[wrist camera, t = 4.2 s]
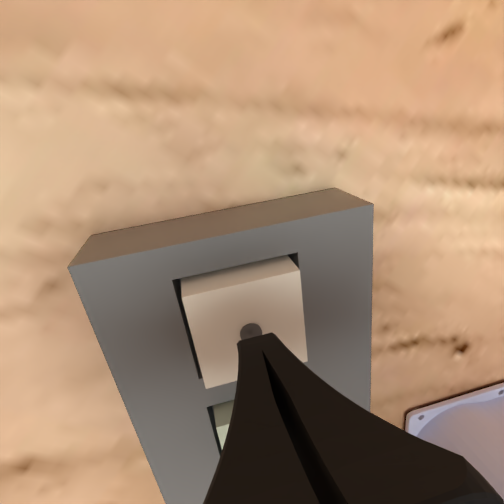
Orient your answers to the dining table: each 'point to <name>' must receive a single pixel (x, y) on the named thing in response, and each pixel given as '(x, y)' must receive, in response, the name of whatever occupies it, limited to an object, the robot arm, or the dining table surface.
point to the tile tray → (178, 331)
